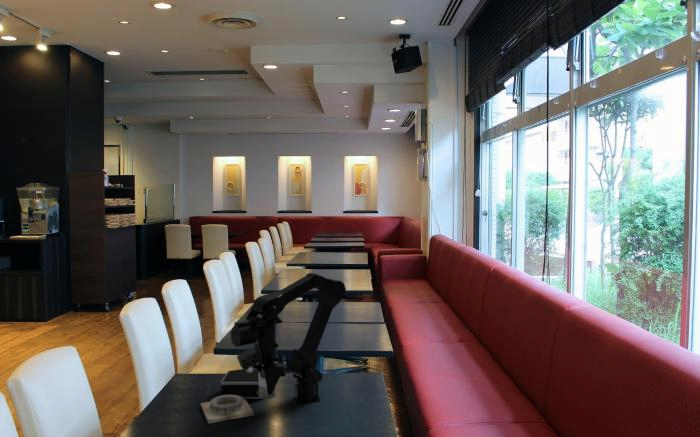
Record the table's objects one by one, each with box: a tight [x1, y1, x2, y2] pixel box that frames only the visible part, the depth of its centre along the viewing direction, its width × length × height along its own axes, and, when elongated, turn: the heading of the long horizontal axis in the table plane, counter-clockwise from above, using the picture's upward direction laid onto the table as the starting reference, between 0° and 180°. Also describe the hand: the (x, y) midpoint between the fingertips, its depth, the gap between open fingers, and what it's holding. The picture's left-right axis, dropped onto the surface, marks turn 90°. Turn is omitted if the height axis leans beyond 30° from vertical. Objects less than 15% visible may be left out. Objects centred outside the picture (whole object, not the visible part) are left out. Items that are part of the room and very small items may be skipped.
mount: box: [200, 395, 255, 424], centre depth 160 cm, size 13×13×3 cm
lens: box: [258, 371, 277, 400], centre depth 158 cm, size 5×5×7 cm
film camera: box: [220, 365, 262, 400], centre depth 176 cm, size 8×16×15 cm
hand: (267, 391), depth 158 cm, fingers closed on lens, 5 cm apart
